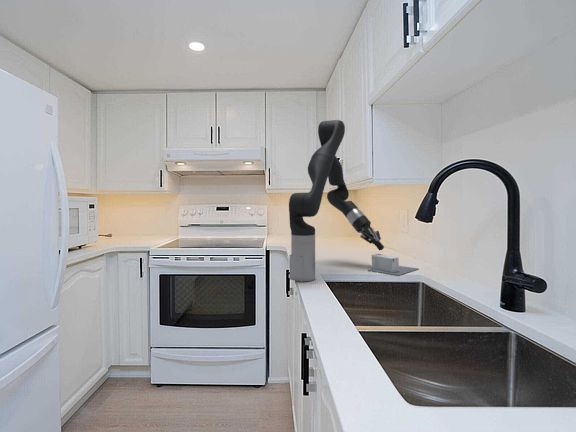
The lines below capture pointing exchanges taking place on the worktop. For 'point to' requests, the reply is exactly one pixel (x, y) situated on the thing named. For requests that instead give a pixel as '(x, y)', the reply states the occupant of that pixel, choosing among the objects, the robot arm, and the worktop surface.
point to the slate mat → (401, 271)
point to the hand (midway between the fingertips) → (382, 249)
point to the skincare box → (385, 263)
